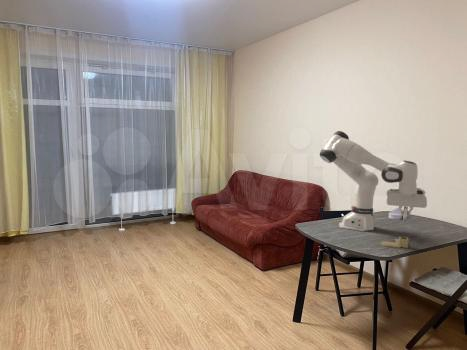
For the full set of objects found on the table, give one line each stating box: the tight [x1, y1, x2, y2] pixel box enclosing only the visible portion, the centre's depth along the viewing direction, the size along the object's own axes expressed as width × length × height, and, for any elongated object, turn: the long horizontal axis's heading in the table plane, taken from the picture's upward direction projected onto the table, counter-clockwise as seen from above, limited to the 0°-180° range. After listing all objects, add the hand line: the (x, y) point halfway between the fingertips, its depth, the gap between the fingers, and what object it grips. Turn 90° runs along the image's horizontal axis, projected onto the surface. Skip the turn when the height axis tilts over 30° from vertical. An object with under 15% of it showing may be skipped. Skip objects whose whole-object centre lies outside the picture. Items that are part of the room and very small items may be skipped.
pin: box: [402, 206, 409, 222], centre depth 195 cm, size 2×2×8 cm
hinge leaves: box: [381, 236, 409, 249], centre depth 203 cm, size 14×14×5 cm
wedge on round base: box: [388, 207, 403, 220], centre depth 265 cm, size 9×7×13 cm
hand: (405, 214), depth 195 cm, fingers closed on pin, 2 cm apart
